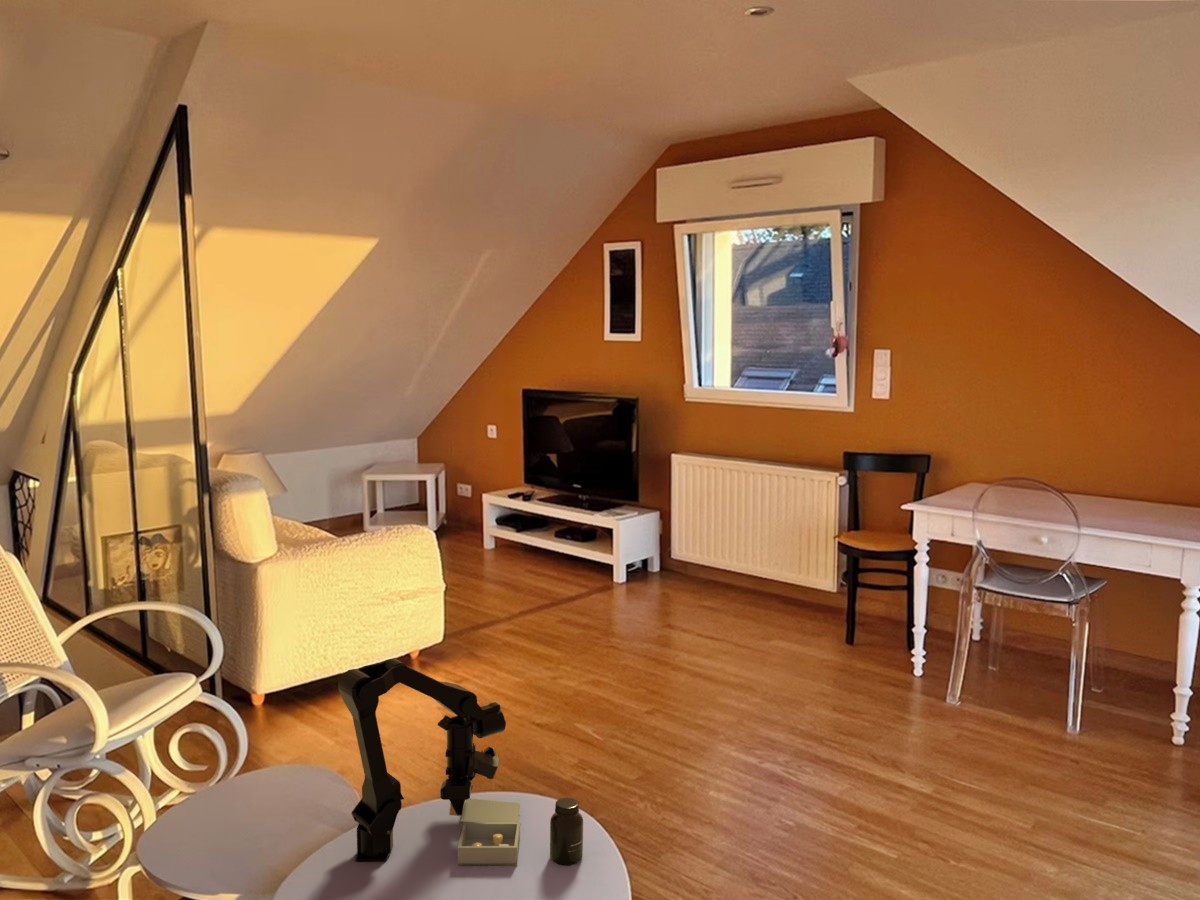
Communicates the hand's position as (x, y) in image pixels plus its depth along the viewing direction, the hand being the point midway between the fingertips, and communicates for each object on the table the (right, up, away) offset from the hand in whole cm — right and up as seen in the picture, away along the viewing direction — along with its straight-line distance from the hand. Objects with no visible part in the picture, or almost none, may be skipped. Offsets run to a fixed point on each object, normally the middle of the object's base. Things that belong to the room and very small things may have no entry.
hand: (460, 810), depth 209 cm
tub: (+8, -4, -12) cm, 15 cm away
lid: (+5, -2, 0) cm, 6 cm away
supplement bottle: (+24, -5, -14) cm, 28 cm away
